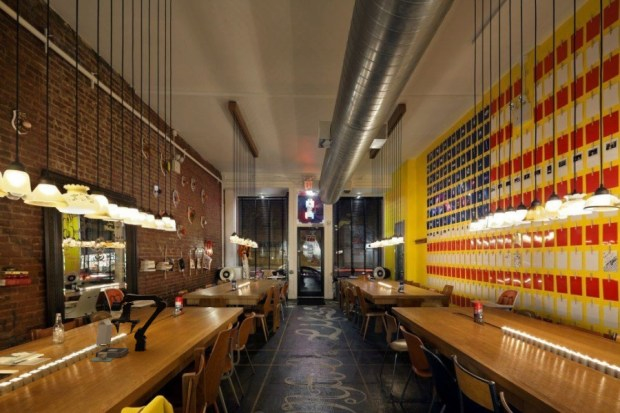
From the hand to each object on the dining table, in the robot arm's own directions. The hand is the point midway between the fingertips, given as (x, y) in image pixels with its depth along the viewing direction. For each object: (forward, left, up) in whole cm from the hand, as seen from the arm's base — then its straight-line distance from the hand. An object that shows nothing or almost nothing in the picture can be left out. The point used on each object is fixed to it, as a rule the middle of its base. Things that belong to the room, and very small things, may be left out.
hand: (124, 333), depth 281 cm
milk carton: (+20, -14, -12) cm, 27 cm away
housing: (+2, +12, -12) cm, 17 cm away
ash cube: (+3, +25, -12) cm, 28 cm away
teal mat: (+3, +25, -12) cm, 28 cm away
